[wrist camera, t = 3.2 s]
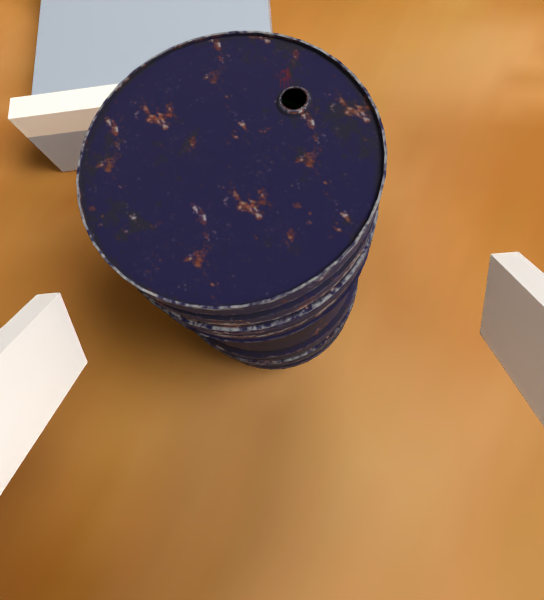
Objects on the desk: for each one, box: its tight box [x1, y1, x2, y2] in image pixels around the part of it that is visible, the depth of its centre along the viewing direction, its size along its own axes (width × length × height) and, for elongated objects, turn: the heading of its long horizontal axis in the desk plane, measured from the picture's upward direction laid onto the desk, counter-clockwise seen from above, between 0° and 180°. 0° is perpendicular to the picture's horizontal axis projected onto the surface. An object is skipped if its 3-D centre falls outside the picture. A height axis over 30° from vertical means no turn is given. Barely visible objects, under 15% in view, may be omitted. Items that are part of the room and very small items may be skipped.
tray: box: [8, 0, 272, 172], centre depth 31 cm, size 16×16×6 cm
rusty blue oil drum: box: [76, 31, 387, 369], centre depth 21 cm, size 10×10×15 cm
